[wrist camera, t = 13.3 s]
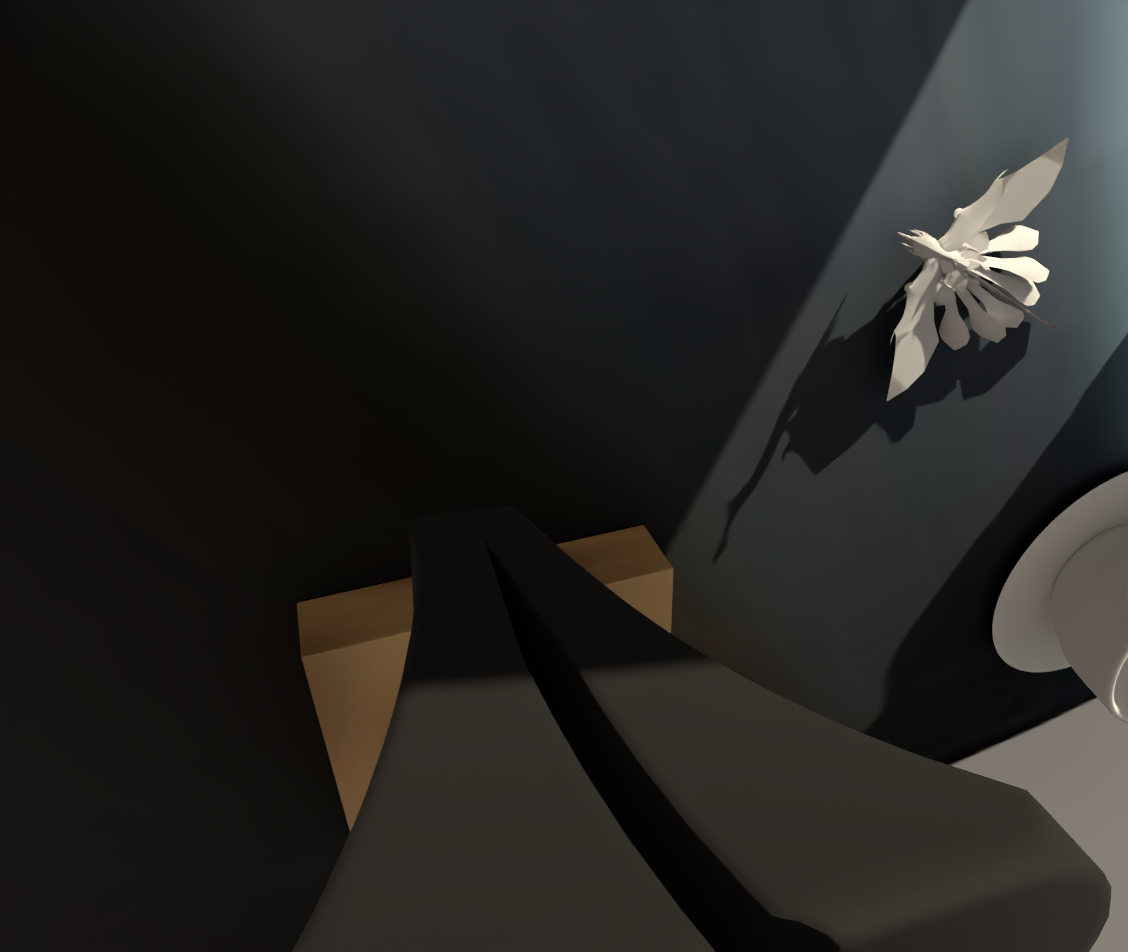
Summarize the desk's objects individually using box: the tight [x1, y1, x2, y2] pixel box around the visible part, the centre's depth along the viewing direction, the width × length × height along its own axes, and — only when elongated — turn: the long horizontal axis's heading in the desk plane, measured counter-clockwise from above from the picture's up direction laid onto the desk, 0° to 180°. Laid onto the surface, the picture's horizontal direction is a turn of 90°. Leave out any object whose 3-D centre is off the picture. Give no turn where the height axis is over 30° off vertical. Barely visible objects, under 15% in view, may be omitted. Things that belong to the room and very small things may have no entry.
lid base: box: [297, 525, 673, 831], centre depth 25 cm, size 10×10×4 cm
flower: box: [886, 137, 1069, 402], centre depth 24 cm, size 8×8×3 cm
